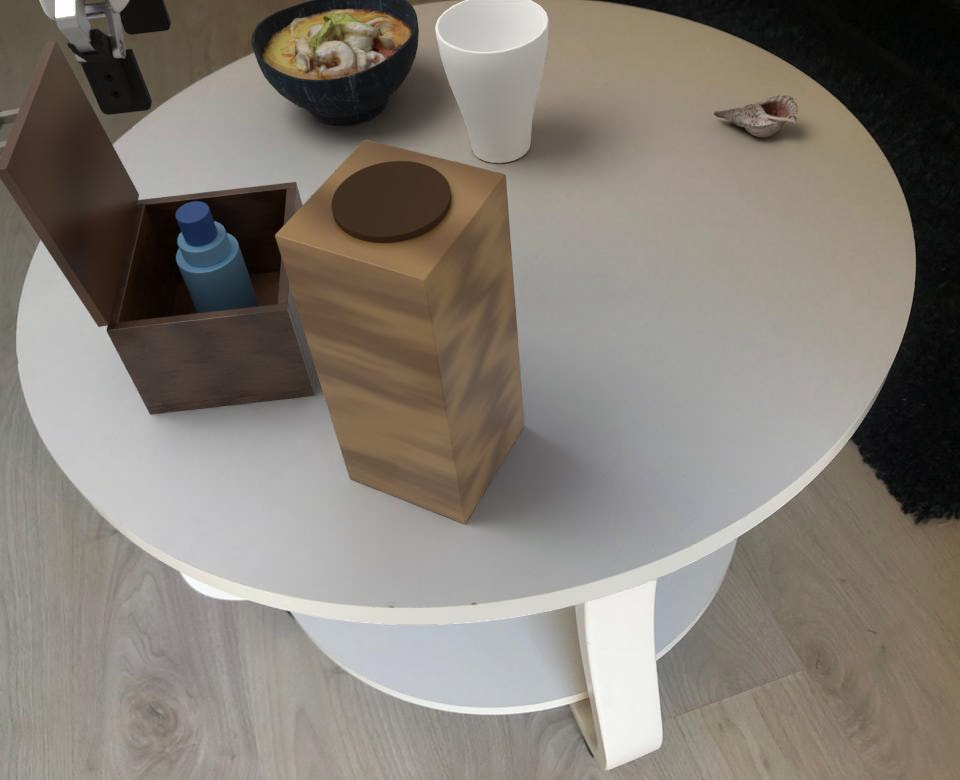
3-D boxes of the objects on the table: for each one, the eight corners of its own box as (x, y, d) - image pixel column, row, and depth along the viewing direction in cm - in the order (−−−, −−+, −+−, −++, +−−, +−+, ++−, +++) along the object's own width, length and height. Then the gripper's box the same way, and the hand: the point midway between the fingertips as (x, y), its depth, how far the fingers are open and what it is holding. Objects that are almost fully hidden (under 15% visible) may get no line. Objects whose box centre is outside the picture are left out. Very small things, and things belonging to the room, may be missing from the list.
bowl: (272, 73, 114) (250, -10, 106) (420, 52, 114) (408, -33, 107) (271, 161, 103) (246, 75, 95) (435, 137, 103) (423, 49, 96)
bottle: (243, 358, 83) (197, 239, 74) (196, 341, 85) (145, 223, 75) (277, 319, 86) (237, 199, 76) (231, 303, 88) (186, 185, 78)
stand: (465, 524, 72) (424, 280, 54) (348, 478, 75) (274, 235, 57) (524, 425, 77) (506, 173, 59) (414, 387, 81) (364, 138, 63)
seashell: (787, 144, 100) (777, 156, 97) (717, 111, 102) (705, 121, 99) (807, 103, 97) (798, 114, 94) (735, 70, 99) (723, 80, 96)
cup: (572, 153, 99) (570, 29, 89) (480, 190, 97) (467, 66, 87) (520, 104, 106) (513, -17, 96) (432, 138, 103) (415, 16, 93)
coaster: (414, 255, 55) (413, 249, 55) (309, 225, 57) (308, 218, 57) (472, 182, 59) (471, 175, 58) (372, 157, 61) (371, 150, 61)
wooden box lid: (56, 40, 73) (-14, 54, 73) (6, 168, 63) (-75, 184, 63) (139, 194, 84) (78, 206, 84) (108, 325, 73) (39, 338, 74)
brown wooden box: (319, 267, 91) (296, 181, 84) (314, 395, 81) (287, 310, 74) (173, 284, 91) (136, 199, 84) (149, 414, 81) (105, 330, 74)
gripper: (1, -258, 59) (105, 10, 72) (-83, -140, 48) (58, 152, 61) (125, -273, 59) (207, -2, 72) (70, -158, 48) (179, 138, 61)
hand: (139, 68), depth 67 cm, fingers open, 9 cm apart
